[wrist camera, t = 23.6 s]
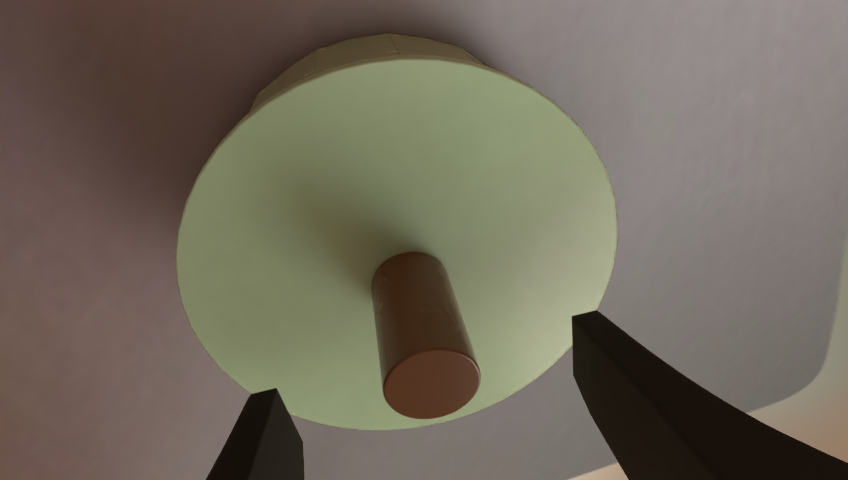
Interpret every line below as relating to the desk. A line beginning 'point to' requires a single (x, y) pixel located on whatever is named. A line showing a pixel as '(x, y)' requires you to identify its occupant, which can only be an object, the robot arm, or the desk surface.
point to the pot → (359, 57)
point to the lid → (396, 242)
